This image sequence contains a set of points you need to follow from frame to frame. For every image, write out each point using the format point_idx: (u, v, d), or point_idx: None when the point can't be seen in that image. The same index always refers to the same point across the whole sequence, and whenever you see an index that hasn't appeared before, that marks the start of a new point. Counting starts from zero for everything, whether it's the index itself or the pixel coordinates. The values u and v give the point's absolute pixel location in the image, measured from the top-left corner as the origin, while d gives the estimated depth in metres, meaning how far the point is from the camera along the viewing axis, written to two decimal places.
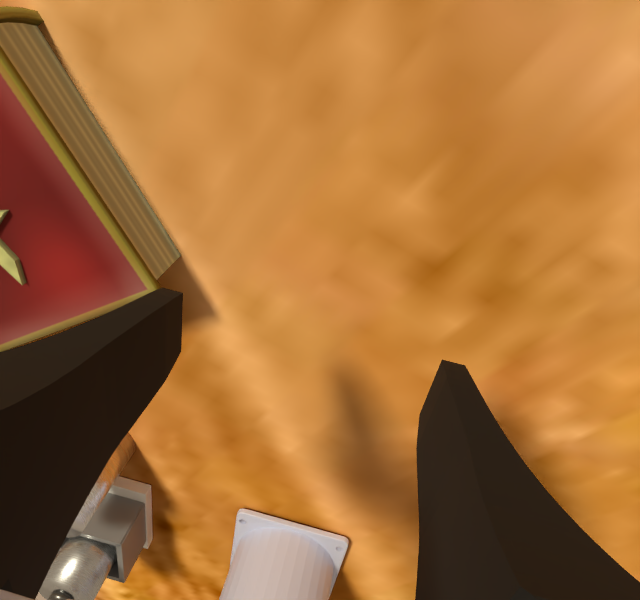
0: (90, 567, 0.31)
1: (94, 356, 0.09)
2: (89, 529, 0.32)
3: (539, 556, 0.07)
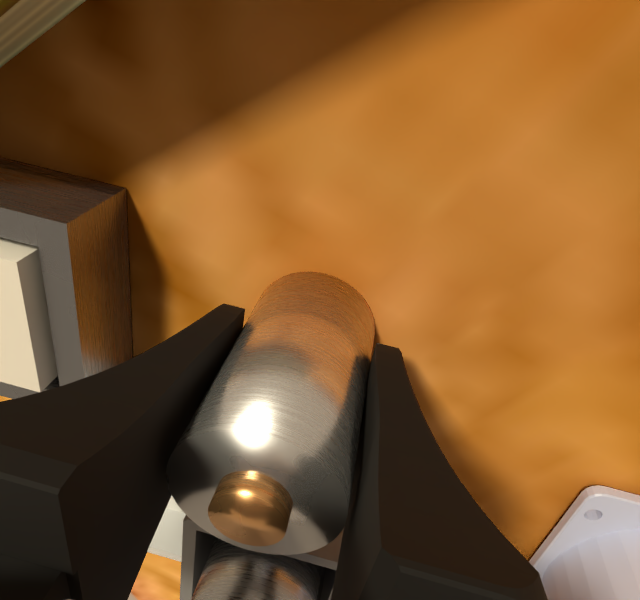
0: None
1: (178, 379, 0.09)
2: None
3: (416, 522, 0.07)
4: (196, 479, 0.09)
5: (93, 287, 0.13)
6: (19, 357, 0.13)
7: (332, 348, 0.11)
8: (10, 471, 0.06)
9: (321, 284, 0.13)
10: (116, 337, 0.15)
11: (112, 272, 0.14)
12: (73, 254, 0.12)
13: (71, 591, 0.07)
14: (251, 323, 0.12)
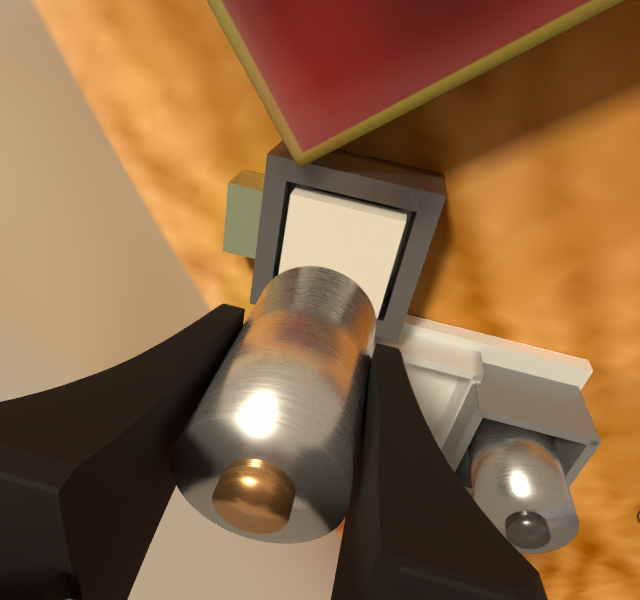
0: (562, 476, 0.18)
1: (178, 379, 0.09)
2: (538, 418, 0.19)
3: (416, 522, 0.07)
4: (200, 467, 0.09)
5: None
6: (373, 291, 0.19)
7: (334, 340, 0.11)
8: (10, 471, 0.06)
9: (323, 277, 0.13)
10: None
11: None
12: None
13: (71, 591, 0.07)
14: (254, 316, 0.12)
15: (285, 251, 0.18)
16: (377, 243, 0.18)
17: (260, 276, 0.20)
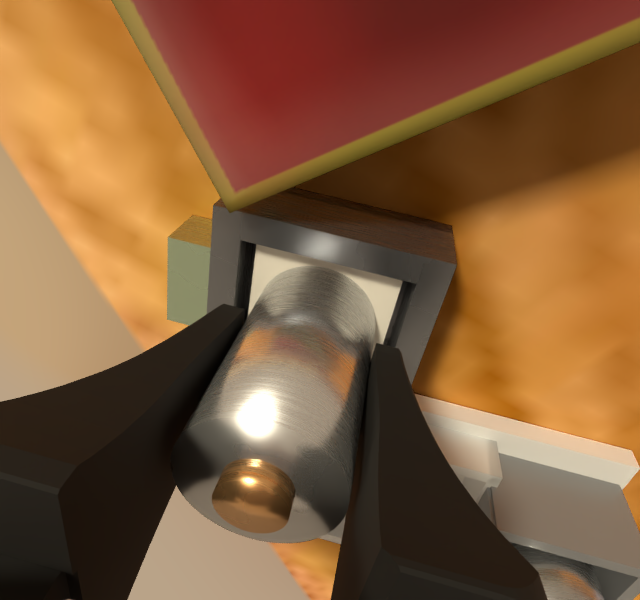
0: None
1: (178, 379, 0.09)
2: (573, 540, 0.15)
3: (416, 522, 0.07)
4: (200, 467, 0.09)
5: None
6: None
7: (334, 340, 0.11)
8: (10, 471, 0.06)
9: (323, 277, 0.13)
10: None
11: None
12: None
13: (71, 591, 0.07)
14: (254, 315, 0.12)
15: None
16: None
17: None
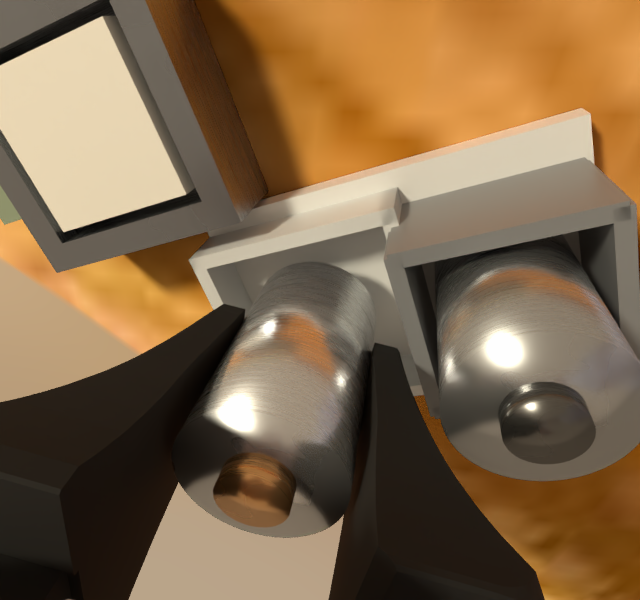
0: (579, 296, 0.09)
1: (179, 379, 0.09)
2: (498, 223, 0.10)
3: (413, 521, 0.07)
4: (201, 464, 0.10)
5: (181, 46, 0.11)
6: (151, 156, 0.12)
7: (330, 331, 0.11)
8: (12, 472, 0.06)
9: (319, 271, 0.13)
10: (234, 137, 0.13)
11: (197, 46, 0.12)
12: None
13: (72, 591, 0.07)
14: (251, 313, 0.12)
15: (28, 166, 0.13)
16: (100, 78, 0.11)
17: (37, 227, 0.14)
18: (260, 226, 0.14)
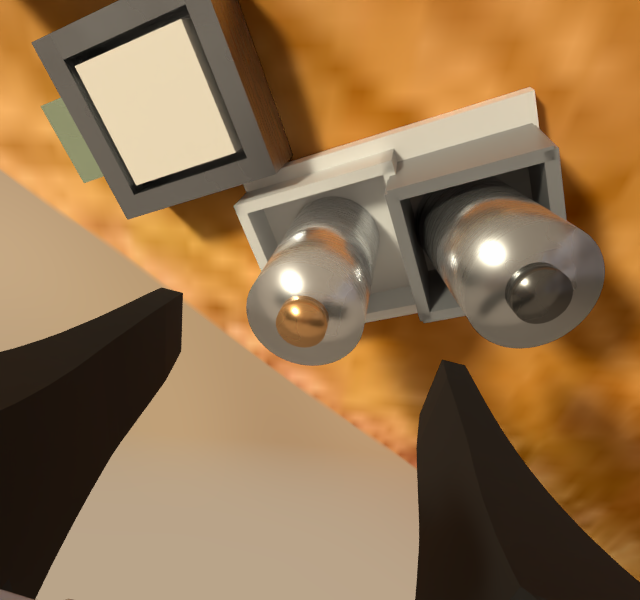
0: (540, 207, 0.13)
1: (94, 356, 0.09)
2: (466, 165, 0.14)
3: (539, 556, 0.07)
4: (266, 308, 0.15)
5: (235, 41, 0.16)
6: (210, 123, 0.16)
7: (348, 233, 0.16)
8: None
9: (338, 201, 0.18)
10: (269, 110, 0.17)
11: (244, 41, 0.16)
12: None
13: None
14: (291, 226, 0.17)
15: (113, 132, 0.17)
16: (175, 64, 0.15)
17: (115, 182, 0.18)
18: (287, 181, 0.18)
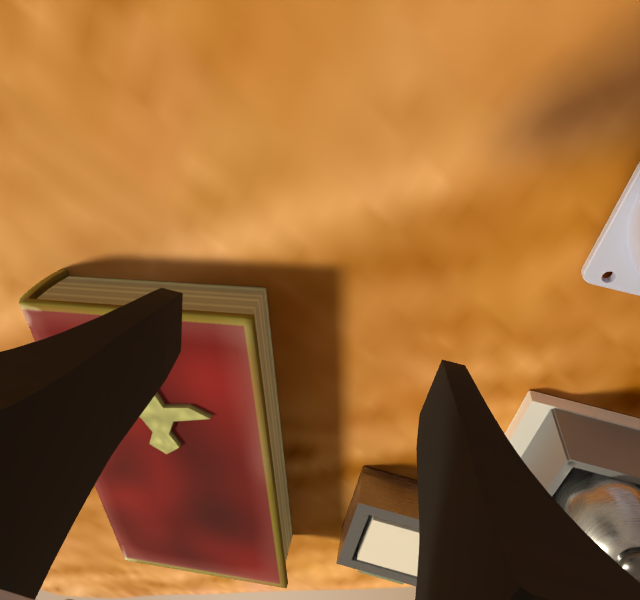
0: (594, 506, 0.20)
1: (94, 356, 0.09)
2: None
3: (539, 556, 0.07)
4: None
5: (396, 500, 0.28)
6: None
7: None
8: None
9: None
10: None
11: (397, 487, 0.29)
12: (373, 504, 0.27)
13: None
14: None
15: (393, 568, 0.30)
16: (387, 532, 0.28)
17: (414, 582, 0.30)
18: None
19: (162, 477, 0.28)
